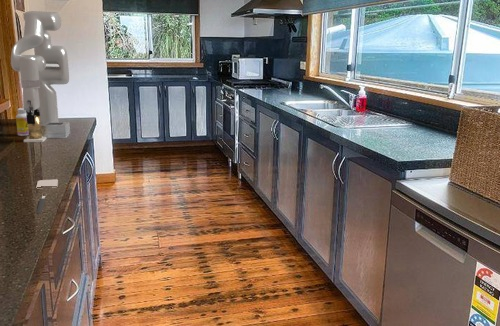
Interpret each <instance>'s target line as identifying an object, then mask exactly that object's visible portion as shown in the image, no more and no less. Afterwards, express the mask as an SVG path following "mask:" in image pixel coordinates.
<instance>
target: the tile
mask: <svg viewBox="0 0 500 326" xmlns="http://www.w3.org/2000/svg"><path fill="white" fill-rule="evenodd" d="M47 139H48V138H47V137H42V138H41V139H29V136H27V137H26V138H25V139H23V143H43V142H45V141H46V140H47Z"/></svg>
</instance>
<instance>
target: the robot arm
mask: <svg viewBox="0 0 500 326" xmlns="http://www.w3.org/2000/svg"><path fill="white" fill-rule="evenodd" d="M23 21H24V27H23V28H24V29H23V30H24V31H23V37H21V38H20V39H19V40H17V41H16V42H15V43H14V44H13V46H12V49H11V53H10V65H11V68H12V70H14V71H15V72H19V76H20V86H21V88H22V105H23V108H24V110H26V116H27V124H35V116H34V115H36V116H40V121H41V125H42V124H44V123H45V122H60V121H59V113H58V112H59V111H58V99H57V92H56V90H55V89H54V88H53V86H52V85H67V84H69V82H70V70H69V69H70V68H69V59H68V53H67V49H66V48H65V47H64V46H62V45H52V38H51V34H50V33H49V32H48V31H50V32H51V31H52V32H53V31H54V32H55V31H59V30H60V28H61V26H62V18H61V15H60V13H58V12H56V11H38V10H31V11H30V10H29V11H25V12H24V13H23ZM31 49H34V52H33V53H34V54H23V53H24V52H27V51H29V50H31ZM48 64H49V65H58V66H49V65H48ZM46 65H47V66H46Z"/></svg>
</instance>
